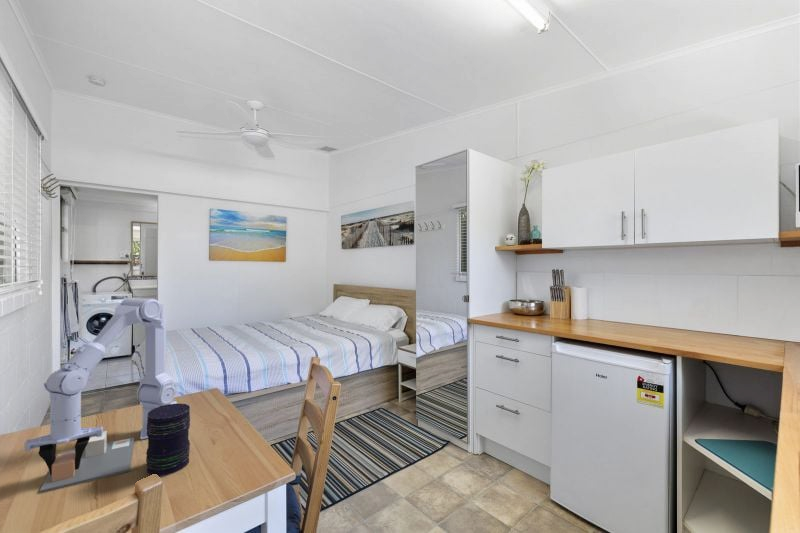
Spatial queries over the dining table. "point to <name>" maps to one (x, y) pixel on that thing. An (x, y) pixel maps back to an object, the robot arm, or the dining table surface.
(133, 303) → the robot arm
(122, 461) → the baseplate
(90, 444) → the off-white brick
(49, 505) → the dining table surface
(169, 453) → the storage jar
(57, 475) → the terracotta brick
